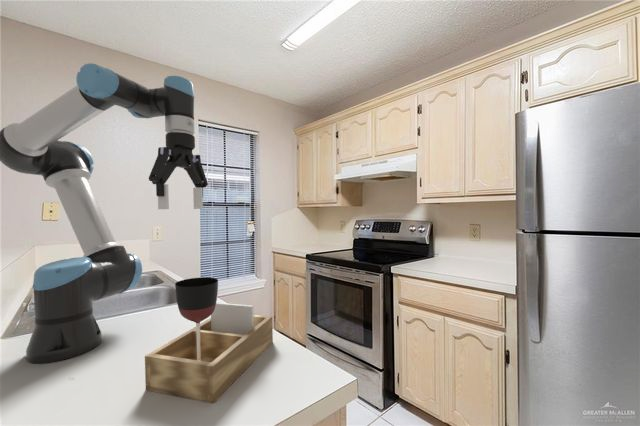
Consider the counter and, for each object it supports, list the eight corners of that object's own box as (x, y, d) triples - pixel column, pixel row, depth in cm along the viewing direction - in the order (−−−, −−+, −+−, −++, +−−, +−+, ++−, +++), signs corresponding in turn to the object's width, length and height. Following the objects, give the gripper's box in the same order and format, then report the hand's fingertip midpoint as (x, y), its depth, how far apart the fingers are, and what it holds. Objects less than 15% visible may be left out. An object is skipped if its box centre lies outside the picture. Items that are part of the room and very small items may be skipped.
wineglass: (207, 386, 59) (204, 287, 59) (168, 382, 61) (166, 286, 60) (226, 365, 67) (225, 278, 66) (192, 362, 68) (190, 276, 68)
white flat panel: (211, 344, 77) (210, 303, 77) (213, 343, 78) (212, 302, 78) (252, 350, 74) (251, 306, 74) (254, 348, 75) (253, 305, 74)
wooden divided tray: (145, 390, 60) (144, 356, 60) (221, 335, 85) (221, 311, 85) (213, 403, 55) (212, 366, 55) (272, 341, 80) (272, 316, 80)
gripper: (155, 120, 71) (157, 209, 71) (218, 142, 95) (219, 208, 95) (130, 123, 73) (133, 209, 73) (198, 144, 97) (200, 208, 97)
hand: (182, 209), depth 84 cm, fingers open, 13 cm apart
